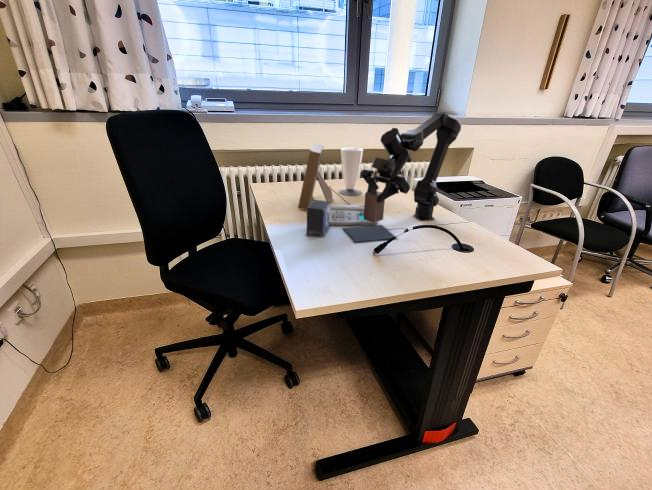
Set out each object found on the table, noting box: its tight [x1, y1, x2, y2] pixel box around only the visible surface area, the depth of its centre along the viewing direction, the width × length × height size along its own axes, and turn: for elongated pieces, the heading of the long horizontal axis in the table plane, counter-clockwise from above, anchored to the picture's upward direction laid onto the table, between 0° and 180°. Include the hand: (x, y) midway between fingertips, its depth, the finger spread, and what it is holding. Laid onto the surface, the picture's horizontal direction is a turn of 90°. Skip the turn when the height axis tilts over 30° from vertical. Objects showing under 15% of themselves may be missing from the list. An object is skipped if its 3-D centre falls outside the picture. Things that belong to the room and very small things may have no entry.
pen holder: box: [363, 190, 386, 223], centre depth 120 cm, size 5×5×10 cm
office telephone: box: [329, 204, 378, 226], centre depth 144 cm, size 23×3×20 cm
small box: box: [306, 199, 330, 237], centre depth 125 cm, size 11×6×10 cm, turn 168°
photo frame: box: [297, 143, 334, 211], centre depth 154 cm, size 15×22×25 cm
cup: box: [339, 146, 364, 196], centre depth 173 cm, size 12×12×22 cm
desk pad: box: [342, 224, 397, 244], centre depth 127 cm, size 16×14×1 cm
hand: (372, 200), depth 118 cm, fingers closed on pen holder, 5 cm apart
